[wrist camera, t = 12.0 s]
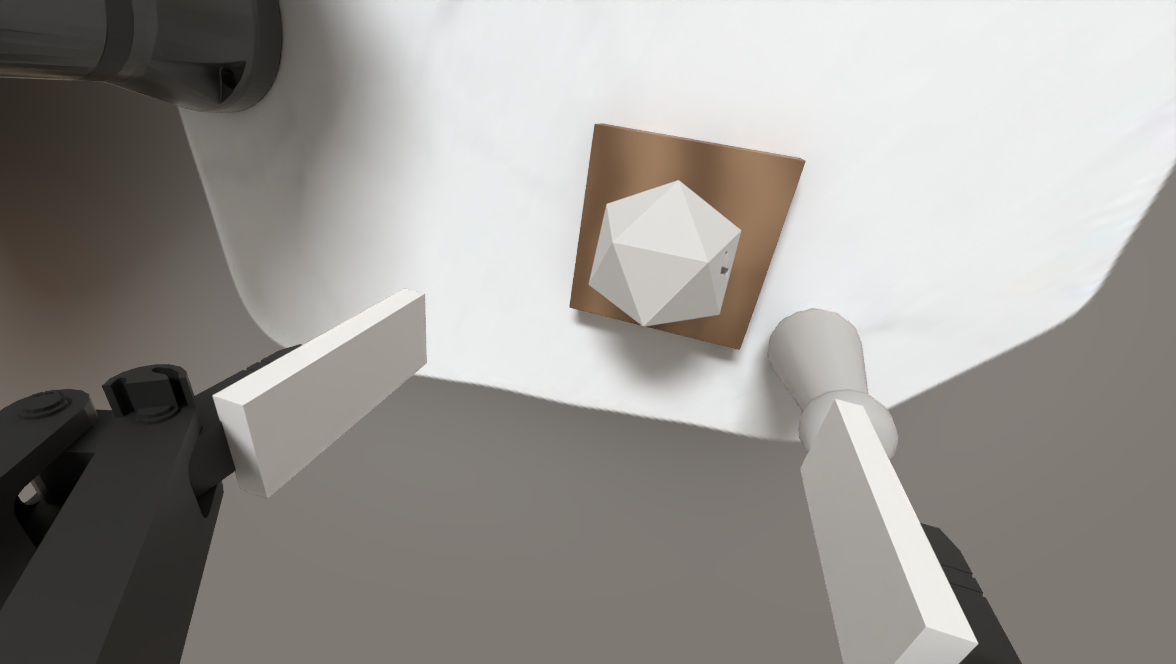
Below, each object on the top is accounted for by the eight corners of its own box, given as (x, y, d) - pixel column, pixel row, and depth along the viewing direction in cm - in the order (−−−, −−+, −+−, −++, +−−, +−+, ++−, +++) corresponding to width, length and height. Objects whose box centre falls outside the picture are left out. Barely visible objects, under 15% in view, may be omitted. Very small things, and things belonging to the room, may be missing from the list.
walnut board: (576, 298, 37) (569, 307, 35) (602, 123, 31) (594, 124, 29) (739, 337, 35) (739, 349, 33) (800, 158, 29) (805, 161, 27)
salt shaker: (794, 382, 35) (828, 511, 24) (748, 327, 34) (762, 434, 23) (869, 342, 32) (949, 466, 21) (822, 282, 31) (879, 377, 20)
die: (666, 322, 34) (753, 351, 25) (559, 301, 31) (614, 326, 22) (693, 213, 33) (793, 204, 24) (585, 179, 30) (654, 154, 21)
